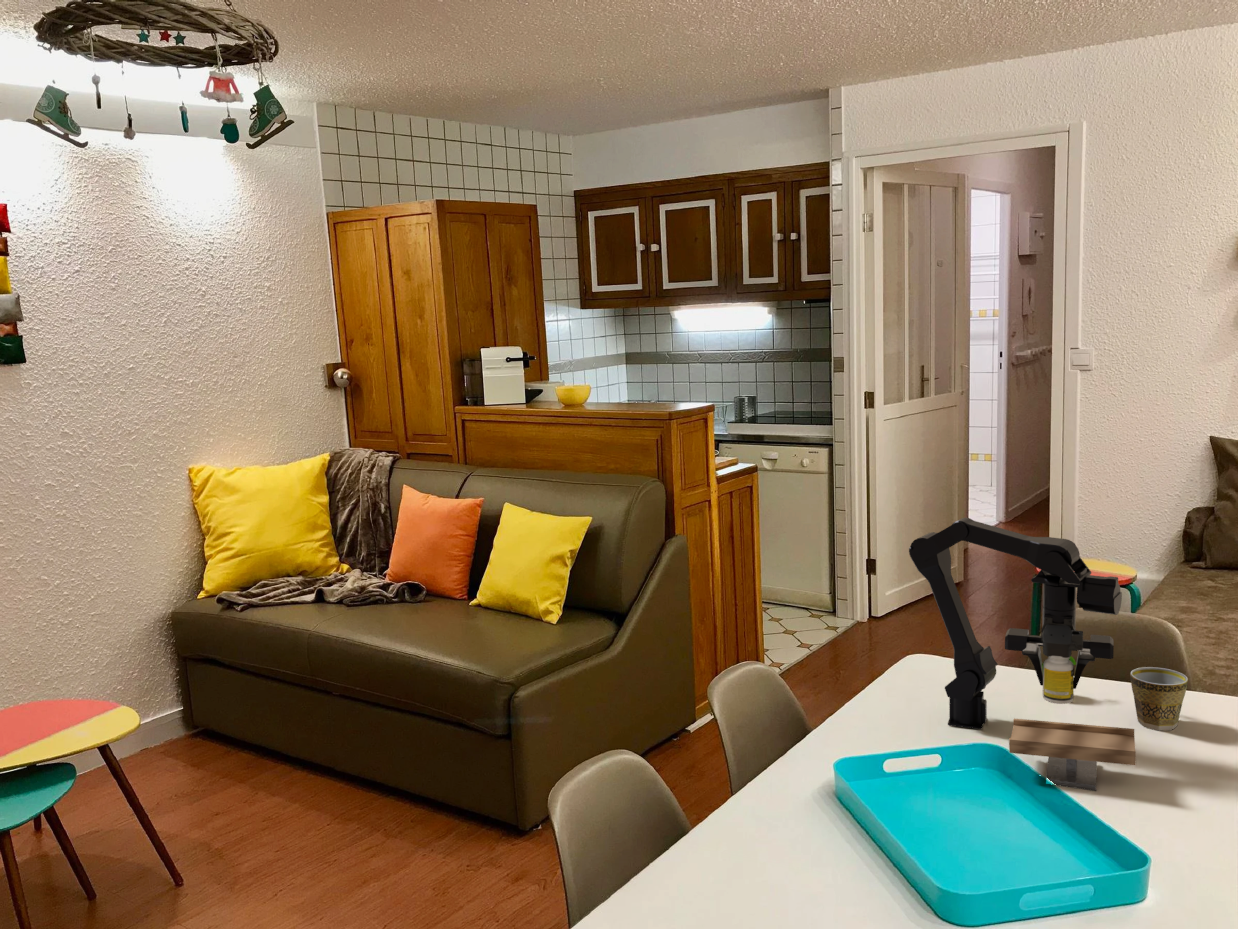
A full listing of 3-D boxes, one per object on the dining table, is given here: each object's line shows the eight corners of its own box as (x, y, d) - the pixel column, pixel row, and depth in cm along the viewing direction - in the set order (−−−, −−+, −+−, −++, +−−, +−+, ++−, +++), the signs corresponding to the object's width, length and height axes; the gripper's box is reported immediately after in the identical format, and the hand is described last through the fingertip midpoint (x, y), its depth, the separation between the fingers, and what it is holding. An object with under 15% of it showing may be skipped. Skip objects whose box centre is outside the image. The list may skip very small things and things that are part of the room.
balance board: (1009, 752, 182) (1009, 739, 181) (1014, 731, 191) (1013, 718, 190) (1135, 765, 173) (1135, 751, 173) (1134, 742, 182) (1134, 729, 182)
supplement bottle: (1076, 705, 192) (1077, 654, 190) (1045, 704, 193) (1046, 654, 192) (1070, 694, 197) (1070, 645, 196) (1040, 694, 198) (1040, 645, 197)
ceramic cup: (1196, 733, 197) (1198, 683, 195) (1144, 735, 197) (1145, 685, 195) (1162, 708, 209) (1163, 661, 208) (1113, 709, 210) (1114, 663, 208)
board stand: (1045, 784, 179) (1045, 759, 179) (1048, 758, 189) (1049, 735, 188) (1095, 791, 176) (1096, 766, 175) (1096, 764, 186) (1097, 741, 185)
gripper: (1002, 615, 189) (1001, 695, 191) (1114, 623, 181) (1112, 707, 183) (1007, 599, 199) (1007, 676, 201) (1114, 606, 191) (1112, 686, 193)
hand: (1058, 686), depth 195 cm, fingers closed on supplement bottle, 5 cm apart
